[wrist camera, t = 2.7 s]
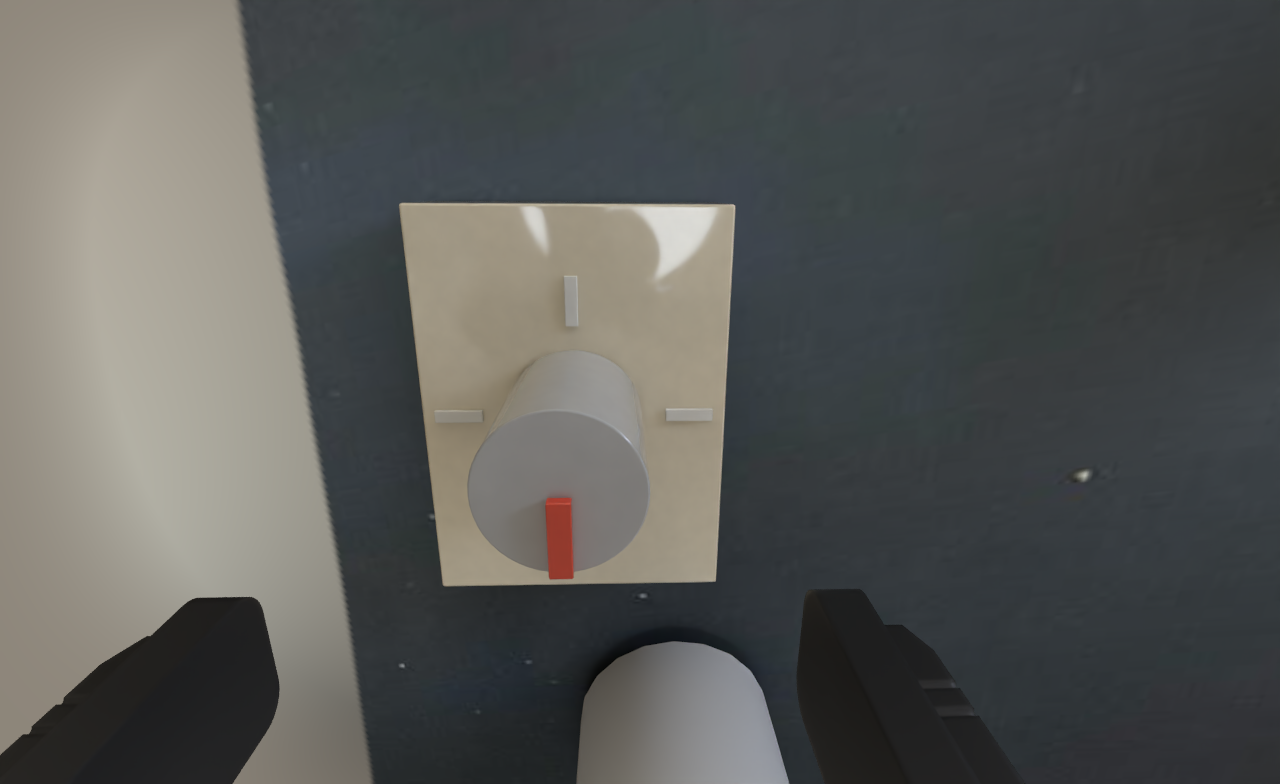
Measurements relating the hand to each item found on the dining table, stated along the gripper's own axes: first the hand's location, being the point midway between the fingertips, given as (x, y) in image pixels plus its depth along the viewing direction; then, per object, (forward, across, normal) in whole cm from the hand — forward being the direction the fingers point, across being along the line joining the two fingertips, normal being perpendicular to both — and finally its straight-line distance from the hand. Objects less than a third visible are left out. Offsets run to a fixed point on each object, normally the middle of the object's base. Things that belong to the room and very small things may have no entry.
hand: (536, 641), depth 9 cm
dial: (+9, 0, 0) cm, 9 cm away
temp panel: (+12, 0, 0) cm, 13 cm away
